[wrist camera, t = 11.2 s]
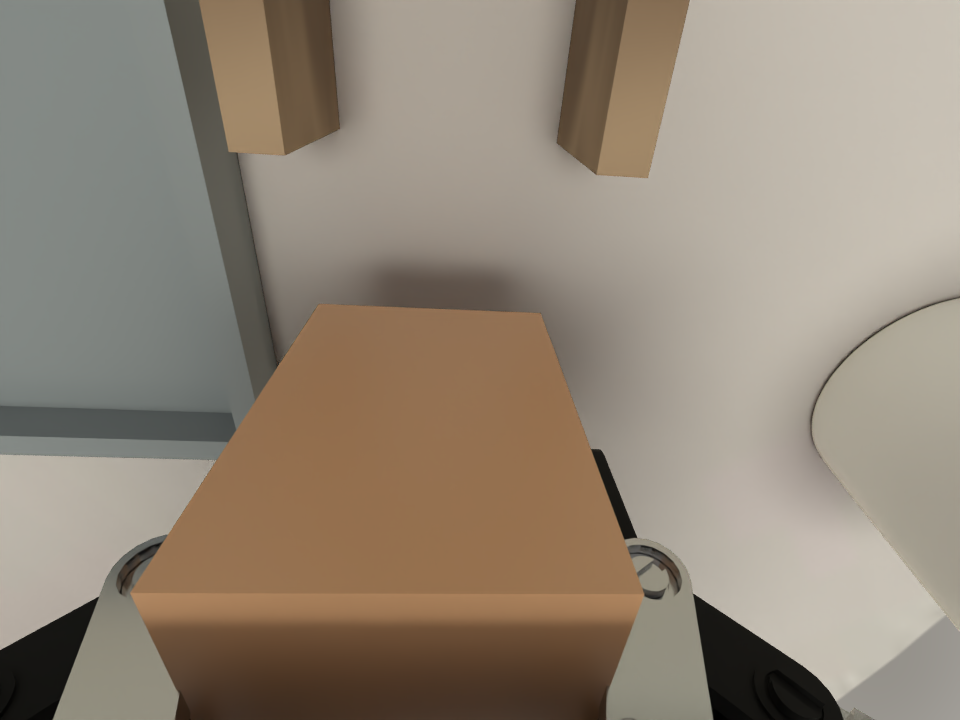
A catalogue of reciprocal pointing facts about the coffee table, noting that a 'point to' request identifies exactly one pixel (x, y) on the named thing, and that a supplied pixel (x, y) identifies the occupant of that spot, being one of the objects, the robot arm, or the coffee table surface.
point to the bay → (313, 97)
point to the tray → (121, 237)
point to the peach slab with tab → (399, 535)
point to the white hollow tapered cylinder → (903, 442)
